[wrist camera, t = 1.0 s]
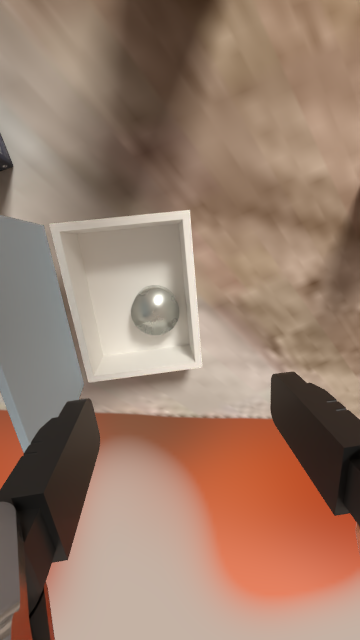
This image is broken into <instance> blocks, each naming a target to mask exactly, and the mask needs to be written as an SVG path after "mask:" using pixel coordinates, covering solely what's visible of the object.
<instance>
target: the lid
mask: <svg viewBox="0 0 360 640" xmlns="http://www.w3.org/2000/svg"><path fill="white" fill-rule="evenodd" d="M83 386H84V382H83V378H82V374H81V370H80V366H79V362H78V359H77V355H76V351H75V347H74V343H73V339H72V335H71V331H70V327H69V323H68V319H67V315H66V311H65V307H64V303H63V299H62V296H61V292H60V288H59V284H58V280H57V276H56V272H55V268H54V264H53V260H52V256H51V252H50V248H49V244H48V240H47V236H46V233H45V229H44V225H40V224H36V223H32V222H27V221H23V220H19V219H15V218H11V217H6V216H2V215H0V392H1V394H2V397H3V400H4V402H5V405H6V407H7V410H8V413H9V415H10V418H11V421H12V423H13V426H14V429H15V431H16V434H17V437H18V439H19V442H20V444H21V447H22V449H23V452H25V451H26V449H27V447H28V446H29V445H31V441H32V440H33V438H34V437H35V435H36V433H37V432H38V430H39V429H40V428H41V427H42V426H44V425H45V424H46V423H47V422H48V421H49V420H50V419H51V418H55V417H58V416H59V414H60V412H61V411H62V409H63V407H64V405H65V404H66V402H68V401H74V400H79V397H80V394H81V392H82V389H83Z"/></svg>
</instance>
